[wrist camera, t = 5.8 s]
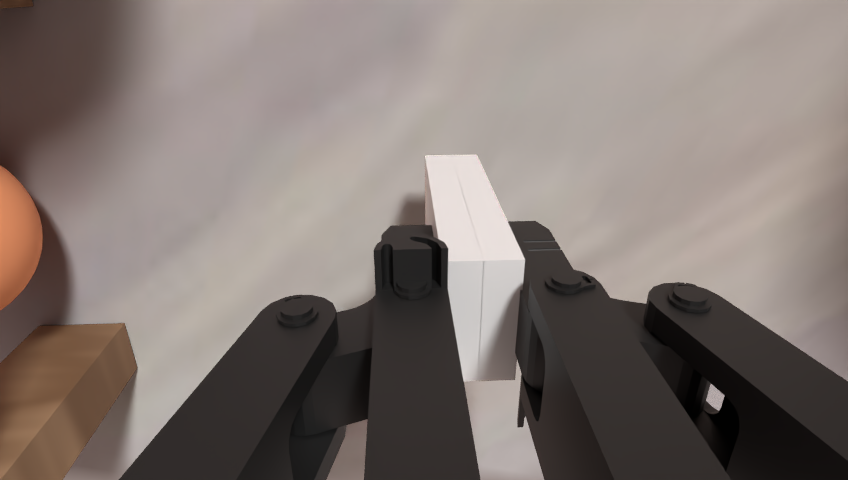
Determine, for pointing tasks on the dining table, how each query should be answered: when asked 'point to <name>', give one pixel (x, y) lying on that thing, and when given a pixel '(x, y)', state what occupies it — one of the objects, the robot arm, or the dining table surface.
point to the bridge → (58, 390)
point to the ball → (17, 237)
